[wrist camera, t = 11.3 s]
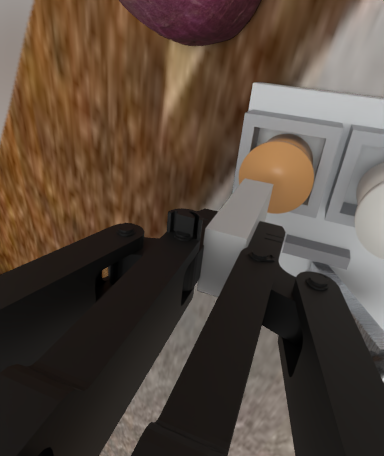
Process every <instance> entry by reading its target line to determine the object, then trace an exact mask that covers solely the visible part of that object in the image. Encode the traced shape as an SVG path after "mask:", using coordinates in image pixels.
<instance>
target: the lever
mask: <svg viewBox="0 0 384 456" xmlns="http://www.w3.org/2000/svg"><path fill="white" fill-rule="evenodd" d="M309 271H312V272H317V273H322V274H323V275H326V276H328V277H330V278H331V279H332V280H334V281H335V282H336V283H337V285H338V286H339V288H340V290H341V292H342V294H343V296H344V299H345V301H346V303H347V305H348V307H349V309H350V311H351V314H352V316H353V318H354V320H355V322H356V324H357V326H358V329H359V331H360V333H361V335H362V337H363V339H364V341H365V344H366V346H367V348H368V350H369V352H370V354H371V357H372V359H373V361H374V363H375V365H376V367H377V369H378V372H379V374H380V376H381V378H382V380H383V382H384V330H383V329H382V328H381V327H380V326H379V325H378V323H377V322H376V321H375V320H374V319H373V317H372V316H371V315H370V314H369V313H368V312H367V310H366V309H365V308H364V307H363V306H362V304H361V303H360V302H359V301H358V300H357V298H356V297H355V296H354V295H353V294H352V293H351V291H350V290H349V289H348V288H347V287H346V285H345V284H344V283H343V282H342V281H341V279H340V278H339V277H338V276H337V275H336V274H335V272H334V271H333V270H332V269H331V268H330V266H329V265H327V264H323V263H320V262H312V263H311V267H310V270H309Z"/></svg>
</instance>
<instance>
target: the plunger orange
mask: <svg viewBox="0 0 384 456" xmlns="http://www.w3.org/2000/svg"><path fill="white" fill-rule="evenodd" d="M312 164H313V155H312V151H311V149H310V147H309V145H308V144H307V143H306V142H305V141H304V140H303V139H302V138H300V137H298V136H296V135H293V134H280V135H276V136H274V137H272V138H270V139H269V140H268V141H267V142H265V143H262V144H260V145H258V146H257V147H255V148H254V149H253V150H252V151H251V152H250V153H249V154H248V155H247V156H246V157H245V159H244V160H243V162H242V164H241V167H240V170H239V185H240V184H241V182H242V181H243V180H244V179H245V178H246V179H251V180H255V181H260V182H265V183H270V184H273V189H272V193H271V198H270V202H269V207H268V211H267V213H273V214H280V213H286V212H289V211H292V210H294V209H296V208H297V207H299V206H300V205H301V204H303V202H304V201H305V200H306V199H307V198H308V196H309V194H310V192H311V190H312V187H313V182H314V169H313V165H312Z"/></svg>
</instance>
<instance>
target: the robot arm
mask: <svg viewBox="0 0 384 456" xmlns="http://www.w3.org/2000/svg"><path fill="white" fill-rule="evenodd" d="M272 189H273V184H270V183H265V182H260V181H255V180H251V179H246V178H245V179H244V180H243V181H242V182H241V184H240V185H239V186H238V187H237V189H236V190H235V191H234V193H233V194H232V195H231V196H230V198H229V199H228V200H227V201H226V203H225V204H224V205H223V206H222V208H221V209H220V210H219V212H217V211H213V210H209V209H203V210H200V211H194V210H190V209H174V210H171V211H169V212H168V221H167V232H166V233H165V234H164V235H163V236H162V237H161V238H146V237H144V230H143V228H141V227H140V226H138V225H134V224H132V223H124V224H117V225H114V226H111V227H109V228H107V229H104V230H102V231H100V232H98V233H95V234H93V235H91V236H88V237H86V238H84V239H81V240H79V241H77V242H75V243H72V244H70V245H68V246H65V247H63V248H61V249H59V250H56V251H54V252H52V253H49V254H47V255H45V256H42V257H40V258H38V259H36V260H33V261H31V262H29V263H26V264H24V265H22V266H20V267H17V268H15V269H13V270H10V271H8V272H6V273H3V274H1V275H0V456H99V454H100V453H101V451H102V449H103V448H104V446H105V444H106V443H107V441H108V439H109V438H110V436H111V434H112V432H113V431H114V429H115V427H116V426H117V424H118V422H119V421H120V419H121V417H122V416H123V414H124V412H125V411H126V409H127V407H128V406H129V404H130V402H131V400H132V399H133V397H134V395H135V394H136V392H137V390H138V389H139V387H140V385H141V384H142V382H143V380H144V379H145V377H146V375H147V374H148V372H149V370H150V369H151V367H152V365H153V363H154V362H155V360H156V358H157V357H158V355H159V353H160V352H161V350H162V348H163V347H164V345H165V343H166V342H167V340H168V338H169V337H170V335H171V333H172V331H173V330H174V328H175V326H176V325H177V323H178V321H179V320H180V318H181V316H182V315H183V313H184V311H185V310H186V308H187V306H188V305H189V303H190V301H191V300H192V298H193V293H194V286H195V284H196V283H197V281H198V287H197V291H200V292H203V293H207V294H210V295H213V296H216V297H218V299H217V301H216V303H215V305H214V307H213V309H212V311H211V313H210V315H209V317H208V319H207V321H206V323H205V325H204V327H203V329H202V331H201V333H200V335H199V337H198V339H197V341H196V343H195V346H194V348H193V350H192V352H191V354H190V356H189V358H188V360H187V362H186V364H185V366H184V368H183V370H182V372H181V374H180V376H179V378H178V380H177V382H176V384H175V386H174V388H173V390H172V392H171V394H170V396H169V398H168V401H167V403H166V405H165V407H164V409H163V411H162V413H161V415H160V416H159V418H158V420H157V421H156V422H151V423H150V424H149V425H148V426H147V427H146V429H145V431H144V432H143V434H142V436H141V437H140V439H139V441H138V443H137V445H136V447H135V449H134V451H133V453H132V455H131V456H227V455H228V452H229V448H230V444H231V440H232V436H233V433H234V429H235V425H236V421H237V417H238V414H239V410H240V406H241V402H242V398H243V394H244V391H245V387H246V383H247V379H248V375H249V372H250V368H251V364H252V360H253V356H254V353H255V349H256V345H257V341H258V337H259V334H260V330H261V326H262V325H263V326H264V327H266V328H268V329H269V330H271V331H273V332H274V333H276V334H278V335H279V337H278V345H279V352H280V358H281V365H282V371H283V378H284V384H285V391H286V397H287V404H288V410H289V417H290V424H291V430H292V437H293V443H294V450H295V456H384V382H383V380H382V378H381V376H380V374H379V372H378V369H377V367H376V365H375V363H374V361H373V359H372V357H371V354H370V352H369V350H368V348H367V346H366V344H365V341H364V339H363V337H362V335H361V333H360V331H359V329H358V326H357V324H356V322H355V320H354V318H353V316H352V314H351V311H350V309H349V307H348V305H347V303H346V301H345V299H344V296H343V294H342V292H341V290H340V288H339V286H338V285H337V283H336V282H335V281H334V280H332V279H331V278H330V277H328V276H326V275H323V274H322V273H317V272H312V271H305V272H301V273H299V274H298V275H297V276H296V277H295V276H293V275H291V274H289V273H287V272H286V271H285V270H284V269H282V267H281V266H280V264H279V257H280V253H281V249H282V245H283V241H284V237H285V233H286V232H285V230H284V228H283V227H282V226H279V225H275V224H271V223H267V222H265V220H266V215H267V211H268V207H269V202H270V198H271V193H272ZM107 267H108V276H107V277H105V278H102V270H103V269H105V268H107Z"/></svg>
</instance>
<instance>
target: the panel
mask: <svg viewBox="0 0 384 456" xmlns="http://www.w3.org/2000/svg"><path fill="white" fill-rule="evenodd" d="M280 134H293V135H296V136H298V137H300V138H302V139H303V140H304V141H305V142H306V143H307V144H308V145H309V147H310V149H311V151H312V155H313V164H312V165H313V169H314V182H313V187H312V190H311V192H310V194H309V196H308V198H307V199H306V200H305V201H304V202H303V204H301V205H300V206H299V207H297V208H296V209H294V210H292V211H289V212H286V213H280V214H273V213H267V215H266V220H265V222H267V223H271V224H275V225H279V226H282V227H283V228H284V230H285V232H286V233H285V237H284V241H283V245H282V249H281V253H280V257H279V264H280V266H281V267H282V269H284V270H285V271H286V272H287V273H289V274H291V275H293V276H295V277H296V276H297V275H298V274H299V273H301V272H305V271H309V270H310V267H311V263H312V262H320V263H323V264H327V265H329V266H330V268H331V269H332V270H333V271H334V272H335V274H336V275H337V276H338V277H339V278H340V279H341V281H342V282H343V283H344V284H345V285H346V287H347V288H348V289H349V290H350V291H351V293H352V294H353V295H354V296H355V297H356V298H357V300H358V301H359V302H360V303H361V304H362V306H363V307H364V308H365V309H366V310H367V312H368V313H369V314H370V315H371V316H372V317H373V319H374V320H375V321H376V322H377V323H378V325H379V326H380V327H381V328H382V329H383V330H384V260H383V259H381V258H378V257H376V256H375V255H373V254H371V253H370V252H369V251H368V250H367V249H366V248H365V247H364V246H363V245H362V244H361V242H360V241H359V239H358V237H357V234H356V230H355V221H354V218H355V212H356V208H357V206H358V204H357V198H356V190H357V186H358V183H359V181H360V179H361V178H362V177H363V175H364V174H365V173H366V172H367V171H368V170H370V169H371V168H372V167H374V166H376V165H378V164H380V163H383V162H384V98H381V97H373V96H365V95H357V94H349V93H341V92H333V91H325V90H318V89H310V88H302V87H294V86H286V85H278V84H270V83H262V82H255V83H253V87H252V93H251V98H250V104H249V110H248V112H246V113H245V117H244V123H243V129H242V135H241V141H240V147H239V154H238V160H237V166H236V172H235V178H234V184H233V190H232V194H233V193H234V191H235V190H236V189H237V187H238V186H239V170H240V167H241V164H242V162H243V160H244V159H245V157H246V156H247V155H248V154H249V153H250V152H251V151H252V150H253V149H254V148H255V147H257V146H258V145H260V144H262V143H265V142H267V141H268V140H269V139H270V138H272V137H274V136H276V135H280Z"/></svg>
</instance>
